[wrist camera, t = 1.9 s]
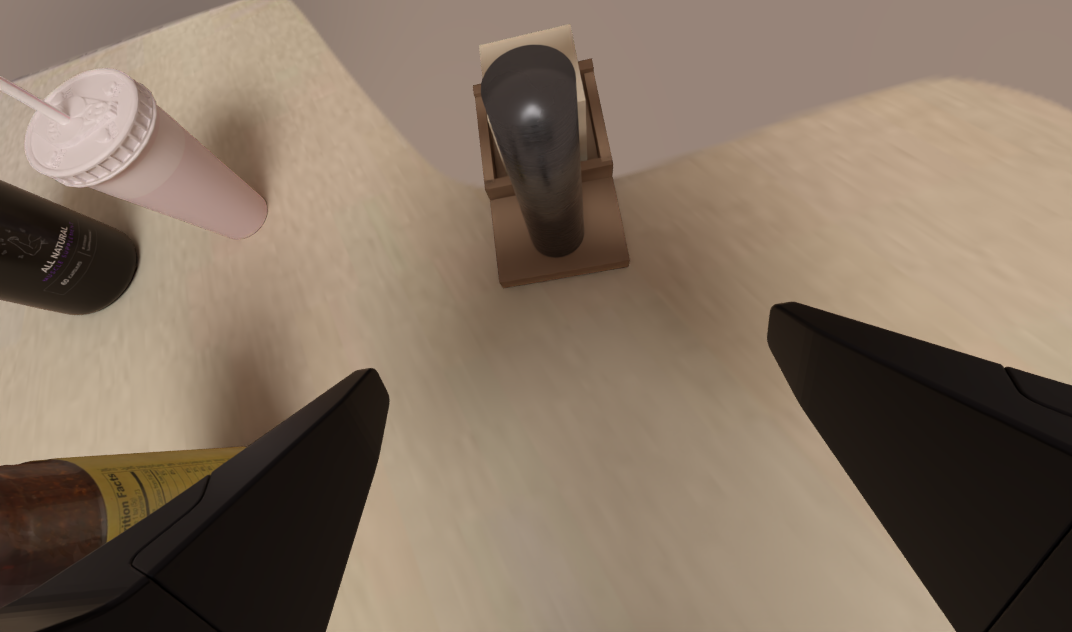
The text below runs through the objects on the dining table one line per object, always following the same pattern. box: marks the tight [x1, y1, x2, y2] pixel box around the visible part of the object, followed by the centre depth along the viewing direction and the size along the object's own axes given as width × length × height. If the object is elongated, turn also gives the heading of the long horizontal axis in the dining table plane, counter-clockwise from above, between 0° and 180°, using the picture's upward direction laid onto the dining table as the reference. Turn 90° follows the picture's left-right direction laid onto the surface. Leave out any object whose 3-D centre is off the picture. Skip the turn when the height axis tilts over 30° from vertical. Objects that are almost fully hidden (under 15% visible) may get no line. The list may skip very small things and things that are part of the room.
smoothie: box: [0, 68, 267, 239], centre depth 22 cm, size 6×6×14 cm
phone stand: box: [473, 45, 630, 288], centre depth 20 cm, size 13×8×12 cm, turn 8°
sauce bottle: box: [0, 447, 246, 608], centre depth 14 cm, size 7×6×20 cm
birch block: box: [479, 24, 587, 176], centre depth 23 cm, size 5×5×5 cm
